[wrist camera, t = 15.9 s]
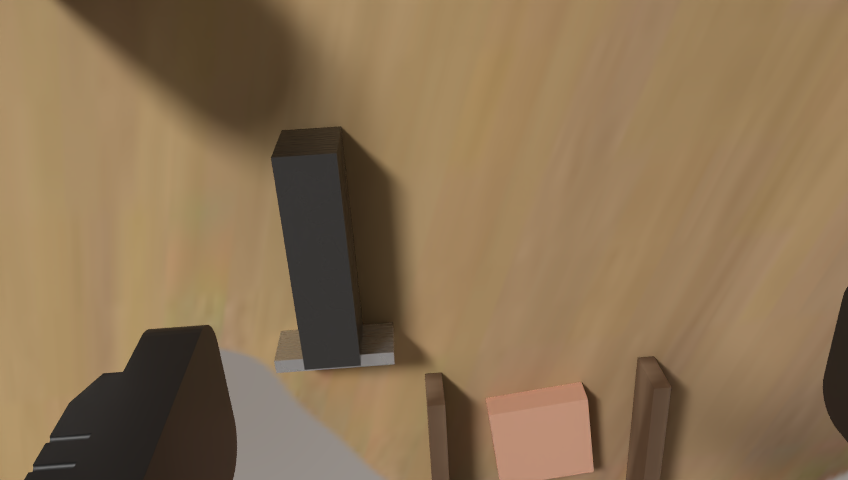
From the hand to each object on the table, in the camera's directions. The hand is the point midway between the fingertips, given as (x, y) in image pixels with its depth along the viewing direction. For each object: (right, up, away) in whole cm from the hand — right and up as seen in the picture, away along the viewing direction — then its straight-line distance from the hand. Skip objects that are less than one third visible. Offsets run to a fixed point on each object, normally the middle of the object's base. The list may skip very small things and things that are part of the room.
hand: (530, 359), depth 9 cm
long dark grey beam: (-7, +2, +30) cm, 31 cm away
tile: (+6, -10, +38) cm, 39 cm away
